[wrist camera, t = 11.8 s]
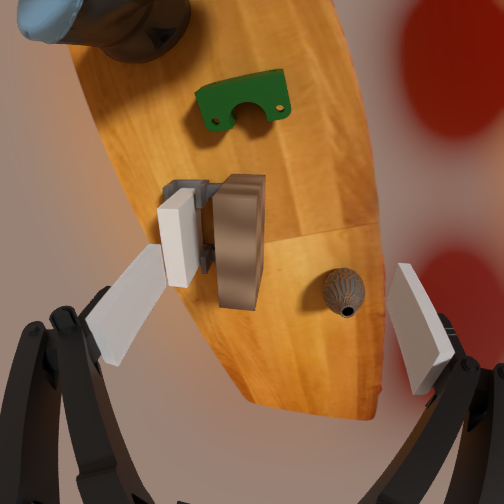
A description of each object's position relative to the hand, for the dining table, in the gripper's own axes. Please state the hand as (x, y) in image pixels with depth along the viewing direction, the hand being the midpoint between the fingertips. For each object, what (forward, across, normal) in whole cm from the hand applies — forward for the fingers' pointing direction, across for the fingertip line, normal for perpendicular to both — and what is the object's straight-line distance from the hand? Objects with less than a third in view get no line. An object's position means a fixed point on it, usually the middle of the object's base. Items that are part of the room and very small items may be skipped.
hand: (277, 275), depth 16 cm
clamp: (+29, -6, +9) cm, 31 cm away
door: (+28, -15, -10) cm, 33 cm away
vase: (+29, +10, -19) cm, 36 cm away
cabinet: (+29, -10, -10) cm, 32 cm away
